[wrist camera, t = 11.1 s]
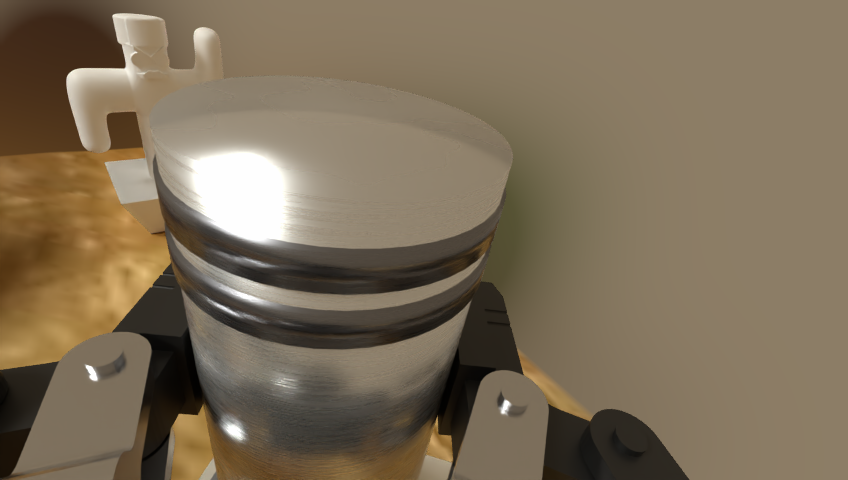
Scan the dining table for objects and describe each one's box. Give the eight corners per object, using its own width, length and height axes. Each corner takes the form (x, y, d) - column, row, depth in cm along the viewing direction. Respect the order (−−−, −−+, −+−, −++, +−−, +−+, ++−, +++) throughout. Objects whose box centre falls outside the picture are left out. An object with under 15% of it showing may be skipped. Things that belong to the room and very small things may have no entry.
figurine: (98, 205, 34) (37, -4, 26) (220, 187, 40) (201, 11, 32) (114, 251, 30) (46, 18, 22) (248, 224, 35) (234, 30, 27)
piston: (186, 585, 11) (21, 128, 4) (284, 415, 15) (275, 61, 9) (376, 653, 10) (511, 252, 4) (421, 457, 14) (519, 116, 8)
